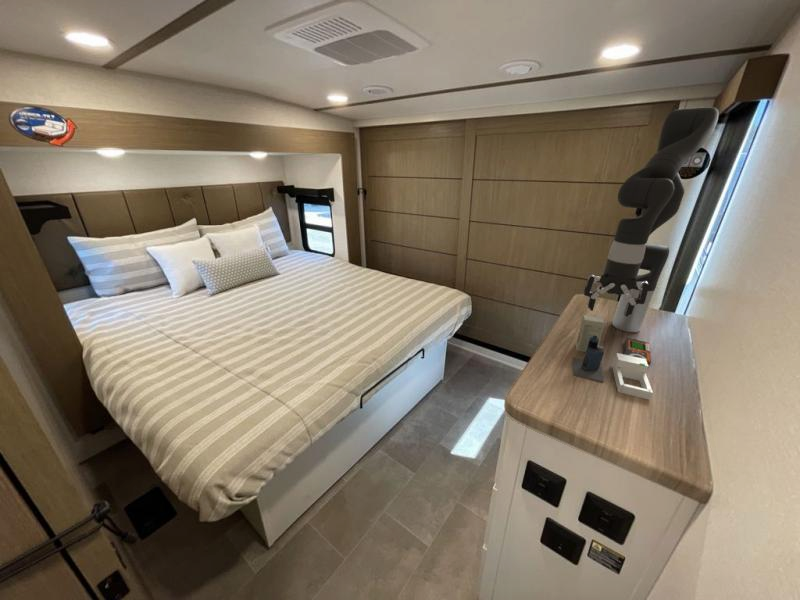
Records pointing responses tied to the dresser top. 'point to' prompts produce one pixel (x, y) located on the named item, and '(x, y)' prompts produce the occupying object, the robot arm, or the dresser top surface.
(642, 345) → the electronic device
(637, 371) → the dock
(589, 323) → the skincare box
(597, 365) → the vaping device
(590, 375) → the mat
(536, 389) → the dresser top surface
